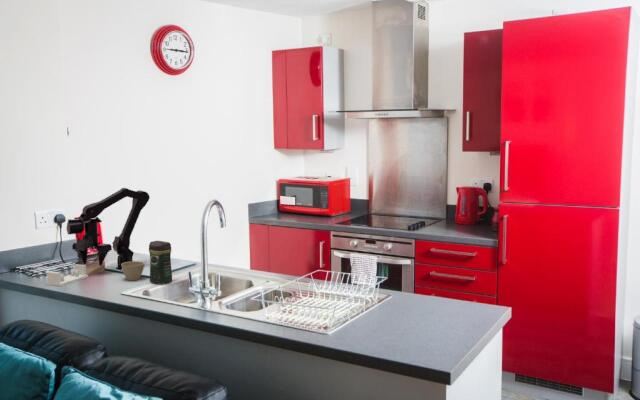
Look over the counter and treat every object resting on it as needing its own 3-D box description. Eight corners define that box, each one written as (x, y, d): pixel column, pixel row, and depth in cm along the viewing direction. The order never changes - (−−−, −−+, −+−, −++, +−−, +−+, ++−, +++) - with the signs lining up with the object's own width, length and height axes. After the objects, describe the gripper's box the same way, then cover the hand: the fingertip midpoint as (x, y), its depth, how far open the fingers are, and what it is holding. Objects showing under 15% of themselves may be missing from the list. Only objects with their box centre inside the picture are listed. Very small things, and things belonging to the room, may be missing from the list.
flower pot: (126, 283, 268) (126, 267, 267) (118, 278, 276) (117, 263, 275) (148, 279, 274) (147, 264, 273) (139, 275, 282) (138, 260, 281)
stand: (88, 277, 278) (87, 265, 278) (60, 286, 262) (59, 273, 262) (74, 275, 281) (74, 263, 280) (46, 284, 265) (45, 272, 265)
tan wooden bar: (104, 270, 292) (104, 261, 291) (87, 276, 280) (86, 266, 280) (98, 269, 293) (97, 260, 292) (80, 275, 282) (79, 266, 281)
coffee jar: (175, 281, 270) (174, 240, 268) (161, 285, 264) (160, 243, 261) (160, 278, 276) (159, 238, 273) (146, 282, 269) (145, 241, 267)
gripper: (62, 233, 280) (64, 266, 282) (95, 236, 274) (96, 270, 275) (80, 229, 290) (81, 261, 292) (111, 232, 284) (113, 265, 286)
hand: (92, 264), depth 286 cm, fingers open, 9 cm apart
